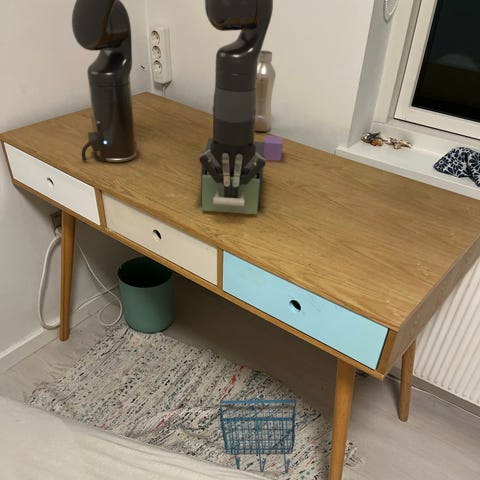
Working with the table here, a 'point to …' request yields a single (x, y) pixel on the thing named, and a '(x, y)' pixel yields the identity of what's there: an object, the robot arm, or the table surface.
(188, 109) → the table surface
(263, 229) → the table surface
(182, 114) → the table surface
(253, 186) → the drawer
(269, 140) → the block
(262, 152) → the cabinet
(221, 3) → the robot arm
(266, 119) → the plastic bottle
